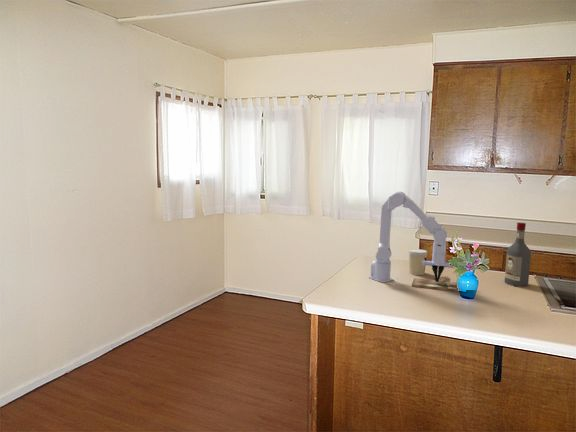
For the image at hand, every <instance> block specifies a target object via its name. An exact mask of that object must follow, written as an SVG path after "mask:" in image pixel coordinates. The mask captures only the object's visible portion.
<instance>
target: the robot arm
mask: <svg viewBox="0 0 576 432" xmlns="http://www.w3.org/2000/svg"><path fill="white" fill-rule="evenodd" d="M401 206H402V207H403V208H406V209H409V210H410V211H411V212H412V213H414V215H415V216H417V218H419V219H420V220H421V222H420V224H421V225H422V227H424V228H425V229H426V230H427V231H428V232H429V233H430V234H432V235H433V236H432V237H433V243H432V244H433V245H432V254H431V255H432V256H431V257H432V259H431V260H426V261H422V265H426V266H429V267H431V269H432V272H433V275H434V278H435V279H434V280H436V282H439V281H440V279H441V278H440V277H441V276H442V273H443V271H444V269H445V268H450V269H455V267H456V266H455V267H453V266H451V265H450V264H449V263H450V262H447V261H446V251H447V237H448V232H447V230H446V228H445V227H444V226H443V225H442V224H440V223H438V222H437V220H436V218H435V217H434V216H432V215H427V214H426V213H425V212H424V211H423V210H422V209H421V208H420V207H419V205H417V204H416V203H415V201H414V200H413V199H411V198H410V197H409V196H408V195H406V194H405V193H404V192H402V191H397V192H395V193H393V194H391V195H390V196H389V197H388V198H387V199H386V201H385V202H384V204H382V206H381V216H380V229H379V230H380V231H379V232H380V233H379V243H378V248H377V252H376V253H375V260H373V261H372V262H371V264H370V276H369V277H368V278H369V279H372V280H374V281H377V282H380V283H385V282H386V283H387V282H391V281H394V280H395V279H394V278H391V267H392V261H391V259H390V258H391V256H392V251H391V228H392V227H391V225H392V213H393V211H394V210H395V209H396V208H398V207H401Z"/></svg>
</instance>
